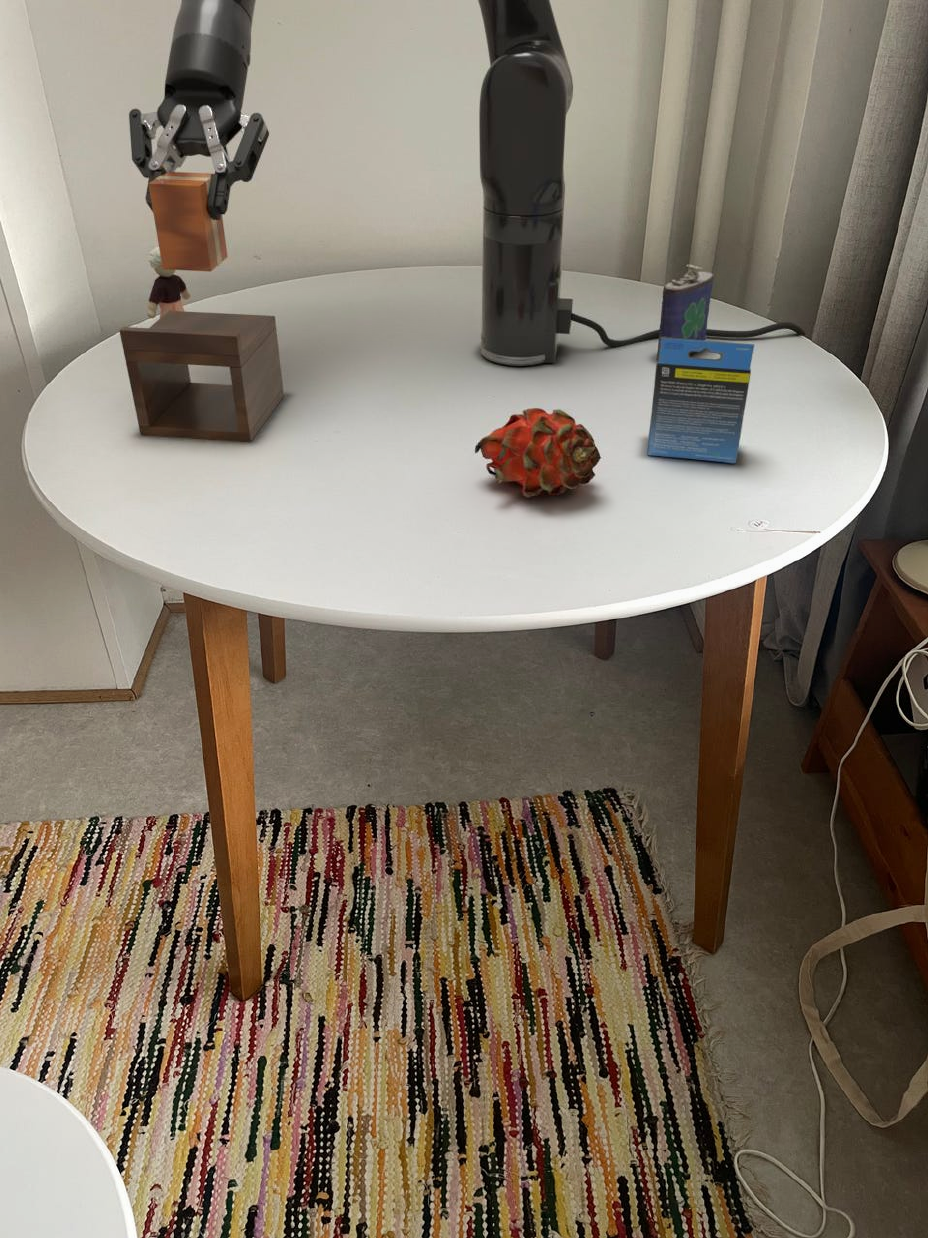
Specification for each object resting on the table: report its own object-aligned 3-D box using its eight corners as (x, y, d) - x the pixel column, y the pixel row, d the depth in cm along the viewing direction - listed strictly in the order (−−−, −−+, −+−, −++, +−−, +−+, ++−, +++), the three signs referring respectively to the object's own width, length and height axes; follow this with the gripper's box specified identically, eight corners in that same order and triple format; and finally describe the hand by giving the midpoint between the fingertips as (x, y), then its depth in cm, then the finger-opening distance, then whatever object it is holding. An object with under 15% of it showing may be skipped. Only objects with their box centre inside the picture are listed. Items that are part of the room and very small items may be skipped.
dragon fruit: (603, 518, 94) (483, 514, 98) (615, 438, 96) (497, 437, 100) (586, 475, 86) (456, 472, 90) (599, 389, 89) (472, 391, 93)
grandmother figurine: (180, 362, 121) (162, 255, 114) (151, 360, 122) (130, 253, 114) (206, 340, 127) (190, 237, 120) (178, 338, 128) (160, 235, 120)
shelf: (283, 396, 113) (273, 296, 106) (250, 442, 103) (236, 336, 97) (182, 390, 114) (165, 291, 108) (140, 434, 105) (118, 329, 98)
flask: (691, 340, 127) (703, 254, 121) (711, 345, 126) (724, 258, 120) (650, 360, 122) (661, 271, 116) (671, 366, 120) (682, 276, 114)
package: (228, 257, 102) (217, 173, 97) (211, 271, 98) (199, 184, 93) (180, 254, 103) (167, 171, 98) (162, 269, 99) (147, 182, 94)
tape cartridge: (736, 448, 102) (756, 330, 95) (735, 465, 99) (757, 344, 92) (648, 439, 104) (662, 322, 96) (645, 456, 101) (659, 336, 93)
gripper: (125, 28, 97) (97, 188, 94) (268, 31, 95) (244, 194, 92) (156, 81, 104) (130, 232, 101) (289, 85, 102) (267, 238, 100)
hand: (185, 213), depth 97 cm, fingers closed on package, 5 cm apart
